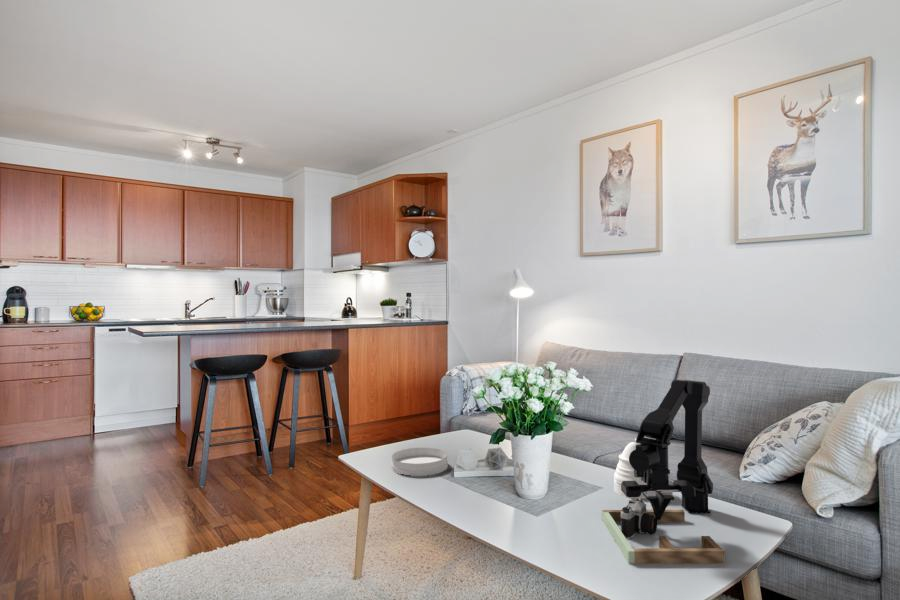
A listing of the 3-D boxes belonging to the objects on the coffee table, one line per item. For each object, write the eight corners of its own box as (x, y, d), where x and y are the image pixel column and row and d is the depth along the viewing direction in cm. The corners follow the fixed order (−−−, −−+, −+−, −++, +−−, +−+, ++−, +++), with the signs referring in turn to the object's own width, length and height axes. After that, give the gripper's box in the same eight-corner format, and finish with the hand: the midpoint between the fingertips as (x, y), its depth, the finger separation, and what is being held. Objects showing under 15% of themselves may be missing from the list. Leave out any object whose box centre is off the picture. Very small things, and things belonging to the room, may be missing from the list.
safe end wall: (607, 520, 160) (607, 510, 160) (634, 563, 134) (634, 551, 134) (602, 520, 160) (602, 510, 160) (628, 563, 134) (628, 551, 134)
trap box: (682, 519, 160) (682, 509, 160) (724, 563, 134) (724, 551, 134) (602, 520, 160) (602, 510, 160) (628, 563, 134) (628, 551, 134)
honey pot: (659, 490, 184) (658, 437, 184) (646, 501, 174) (645, 445, 174) (622, 482, 192) (622, 431, 192) (607, 492, 182) (607, 439, 182)
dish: (382, 474, 206) (382, 461, 206) (404, 457, 227) (403, 445, 227) (437, 479, 200) (437, 465, 200) (454, 461, 221) (454, 449, 221)
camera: (646, 545, 144) (647, 510, 145) (617, 537, 149) (618, 503, 149) (661, 531, 155) (662, 499, 155) (634, 524, 159) (634, 493, 160)
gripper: (679, 454, 158) (680, 508, 158) (615, 455, 159) (616, 508, 159) (696, 466, 147) (696, 523, 147) (626, 467, 147) (627, 524, 147)
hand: (658, 519), depth 150 cm, fingers closed
